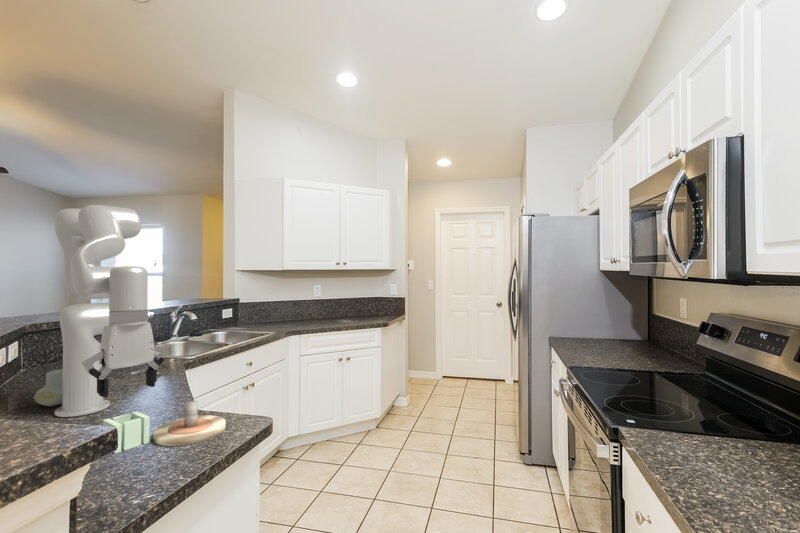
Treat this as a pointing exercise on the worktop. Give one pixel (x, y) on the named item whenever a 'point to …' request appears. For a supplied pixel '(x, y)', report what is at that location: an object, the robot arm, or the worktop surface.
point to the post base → (189, 428)
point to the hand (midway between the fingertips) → (128, 390)
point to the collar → (130, 429)
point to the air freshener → (51, 389)
